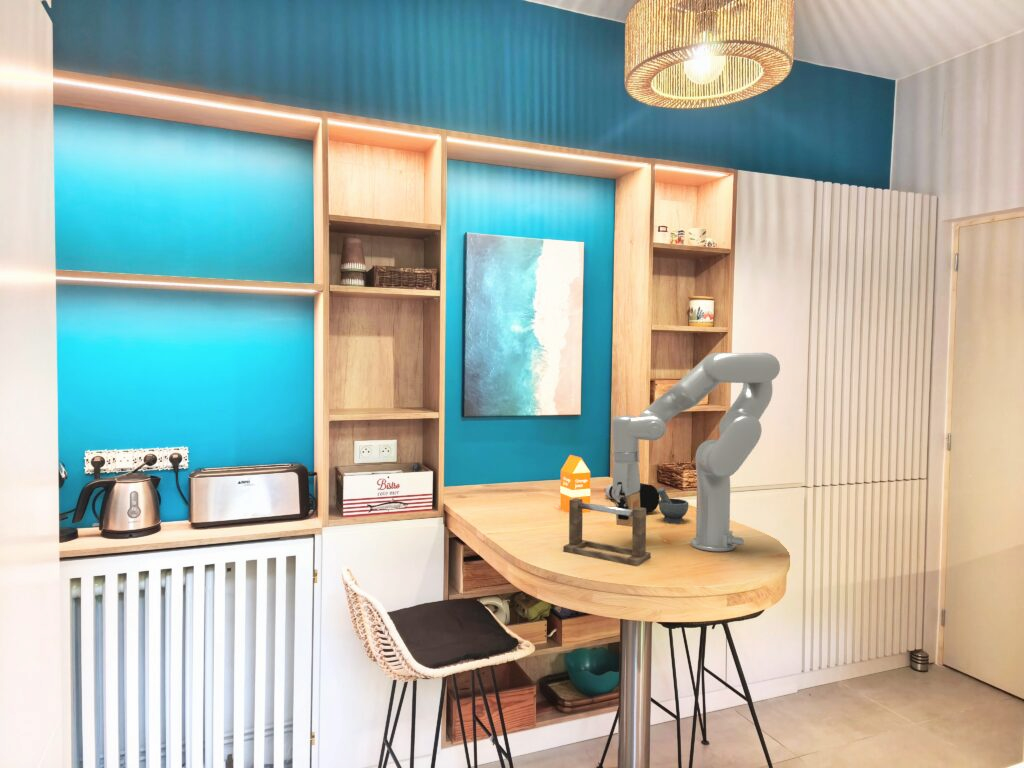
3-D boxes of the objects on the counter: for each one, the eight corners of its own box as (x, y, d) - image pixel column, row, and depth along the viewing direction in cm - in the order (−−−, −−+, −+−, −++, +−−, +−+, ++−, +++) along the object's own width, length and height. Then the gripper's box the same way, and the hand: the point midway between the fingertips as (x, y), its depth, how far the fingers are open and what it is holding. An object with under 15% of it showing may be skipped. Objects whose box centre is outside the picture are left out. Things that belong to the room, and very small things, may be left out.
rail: (642, 517, 181) (642, 510, 181) (639, 518, 179) (640, 511, 179) (575, 506, 193) (575, 500, 193) (572, 507, 191) (572, 501, 191)
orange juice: (571, 513, 235) (572, 458, 234) (560, 508, 243) (560, 455, 242) (590, 511, 238) (591, 457, 237) (578, 506, 246) (578, 453, 245)
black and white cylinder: (612, 506, 266) (621, 483, 268) (653, 517, 234) (663, 491, 235) (591, 496, 264) (601, 473, 266) (629, 506, 231) (640, 479, 233)
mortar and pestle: (677, 517, 231) (678, 483, 230) (693, 523, 222) (694, 488, 221) (649, 519, 227) (650, 485, 226) (664, 526, 218) (665, 490, 218)
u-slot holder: (640, 521, 197) (639, 492, 197) (632, 526, 192) (630, 496, 192) (625, 520, 200) (624, 490, 200) (616, 524, 195) (615, 494, 195)
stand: (650, 557, 184) (651, 506, 183) (637, 566, 176) (637, 512, 176) (578, 544, 197) (579, 496, 196) (563, 551, 189) (563, 501, 189)
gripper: (627, 452, 204) (629, 509, 205) (601, 460, 190) (604, 521, 191) (649, 453, 200) (651, 511, 201) (625, 462, 186) (627, 524, 187)
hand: (628, 516), depth 196 cm, fingers closed on u-slot holder, 6 cm apart
